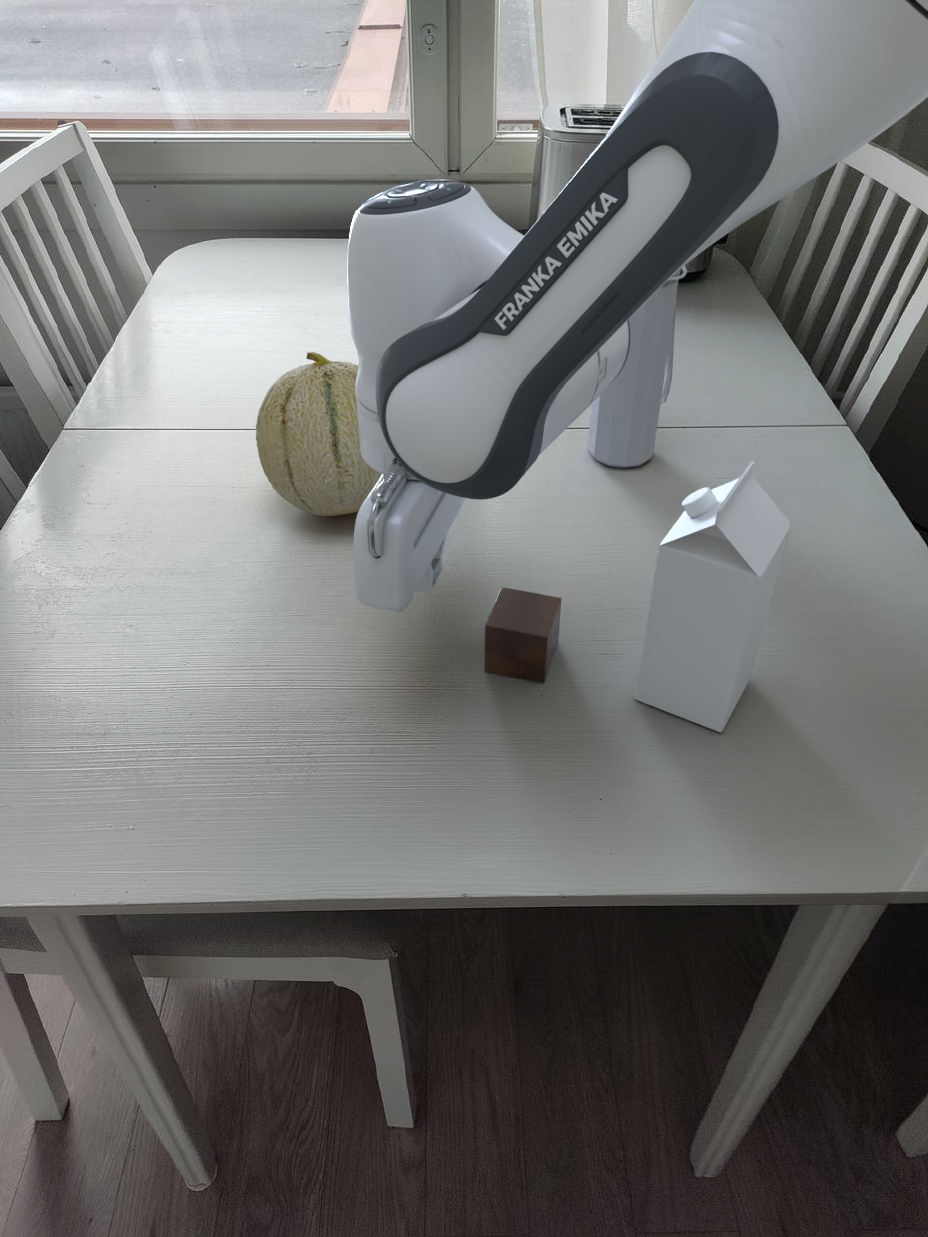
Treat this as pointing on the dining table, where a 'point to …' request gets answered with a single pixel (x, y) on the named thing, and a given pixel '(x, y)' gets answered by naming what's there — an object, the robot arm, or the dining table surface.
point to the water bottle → (637, 385)
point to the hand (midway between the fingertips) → (426, 581)
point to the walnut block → (522, 634)
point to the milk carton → (711, 601)
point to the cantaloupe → (315, 439)
